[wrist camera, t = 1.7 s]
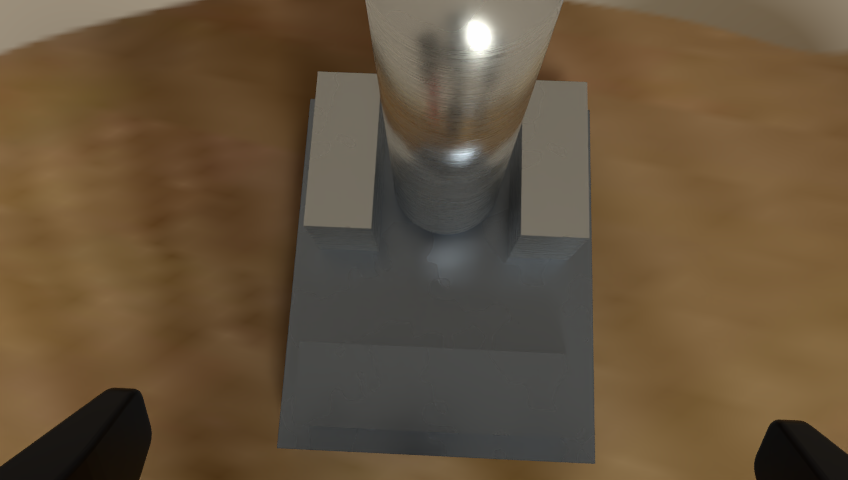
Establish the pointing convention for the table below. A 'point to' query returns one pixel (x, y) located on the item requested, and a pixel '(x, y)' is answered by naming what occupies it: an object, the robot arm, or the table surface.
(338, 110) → the vise
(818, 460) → the robot arm
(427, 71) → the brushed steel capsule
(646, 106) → the table surface
